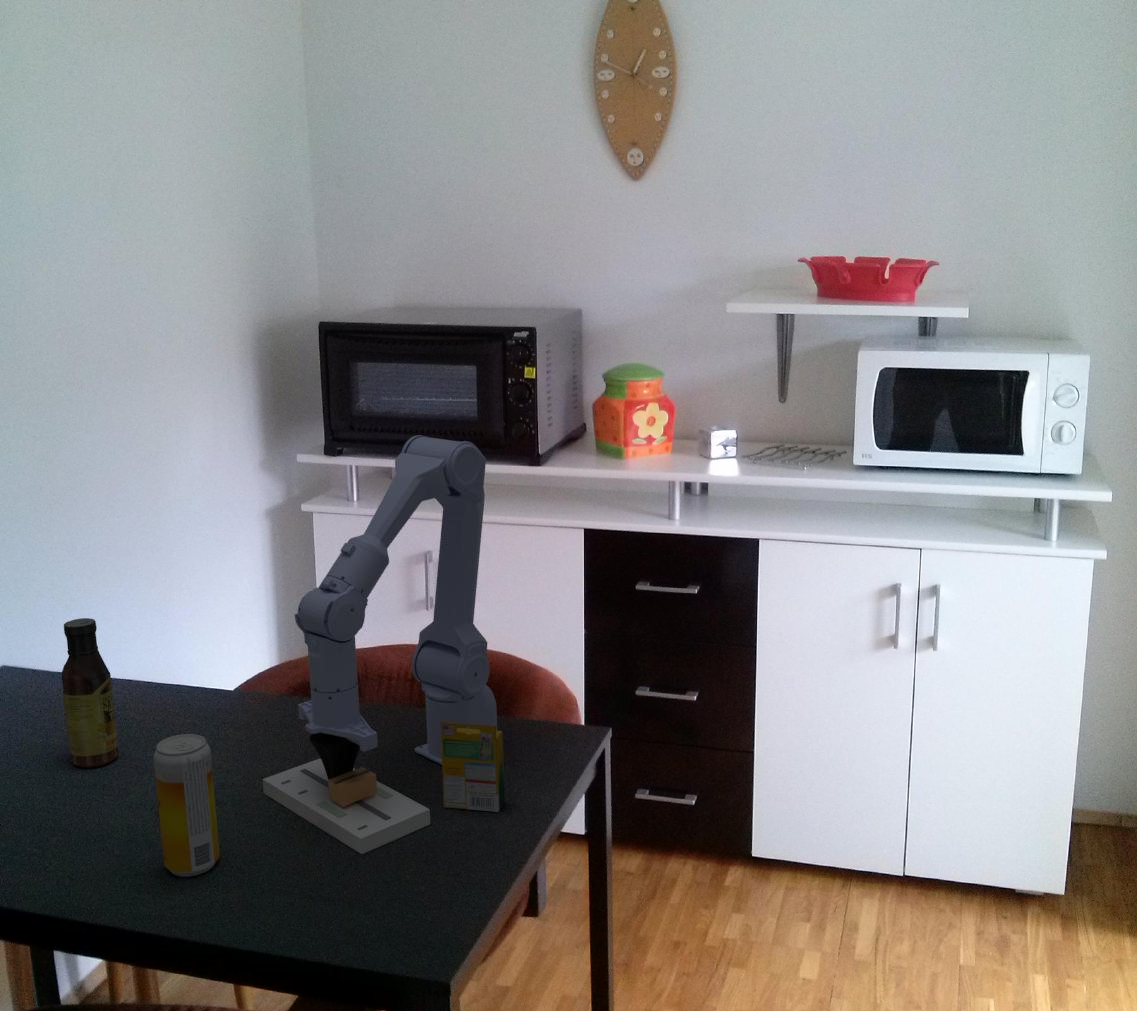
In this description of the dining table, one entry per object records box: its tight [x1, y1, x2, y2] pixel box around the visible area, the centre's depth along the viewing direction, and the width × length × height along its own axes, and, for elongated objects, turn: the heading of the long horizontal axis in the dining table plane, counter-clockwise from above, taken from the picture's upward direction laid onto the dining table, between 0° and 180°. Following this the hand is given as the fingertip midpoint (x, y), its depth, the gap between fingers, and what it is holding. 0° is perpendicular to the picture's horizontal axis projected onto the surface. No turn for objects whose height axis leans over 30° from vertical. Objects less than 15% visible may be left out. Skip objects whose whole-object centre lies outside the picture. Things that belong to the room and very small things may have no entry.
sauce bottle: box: [61, 617, 119, 768], centre depth 162 cm, size 6×6×20 cm
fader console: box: [262, 758, 431, 855], centre depth 149 cm, size 10×22×2 cm, turn 44°
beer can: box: [153, 733, 220, 877], centre depth 135 cm, size 6×6×15 cm
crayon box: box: [441, 722, 506, 813], centre depth 148 cm, size 7×3×12 cm, turn 78°
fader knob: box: [328, 766, 377, 806], centre depth 147 cm, size 5×3×3 cm, turn 134°
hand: (340, 786), depth 149 cm, fingers closed
